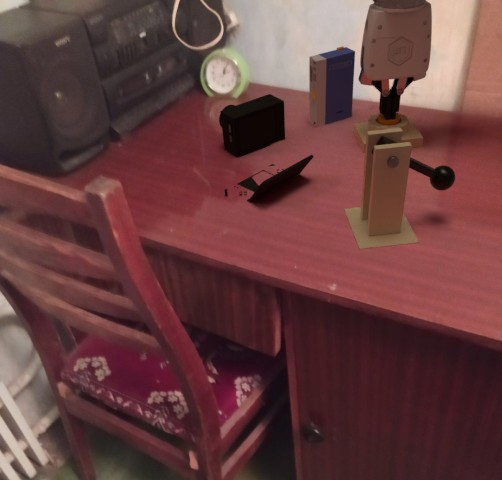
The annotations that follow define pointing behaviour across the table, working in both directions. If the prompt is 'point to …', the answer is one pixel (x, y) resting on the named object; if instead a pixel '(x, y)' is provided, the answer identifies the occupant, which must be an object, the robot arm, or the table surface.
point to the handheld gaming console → (272, 179)
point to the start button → (388, 122)
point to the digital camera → (252, 124)
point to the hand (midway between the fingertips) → (388, 116)
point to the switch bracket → (383, 193)
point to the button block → (405, 124)
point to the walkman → (331, 86)
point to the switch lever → (428, 170)
